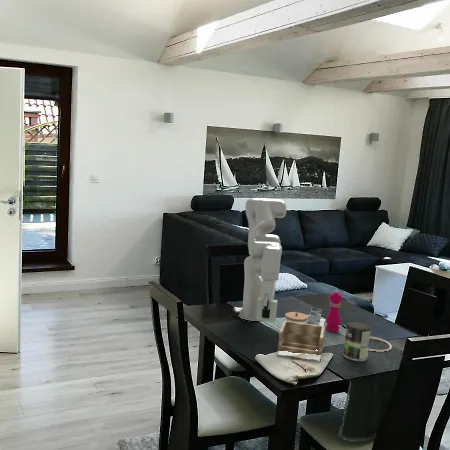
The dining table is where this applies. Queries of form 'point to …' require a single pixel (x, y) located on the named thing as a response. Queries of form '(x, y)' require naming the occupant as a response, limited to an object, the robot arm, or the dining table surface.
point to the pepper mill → (334, 312)
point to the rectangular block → (272, 311)
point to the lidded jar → (296, 317)
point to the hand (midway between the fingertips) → (266, 316)
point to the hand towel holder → (382, 341)
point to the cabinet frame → (301, 338)
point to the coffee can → (357, 340)
